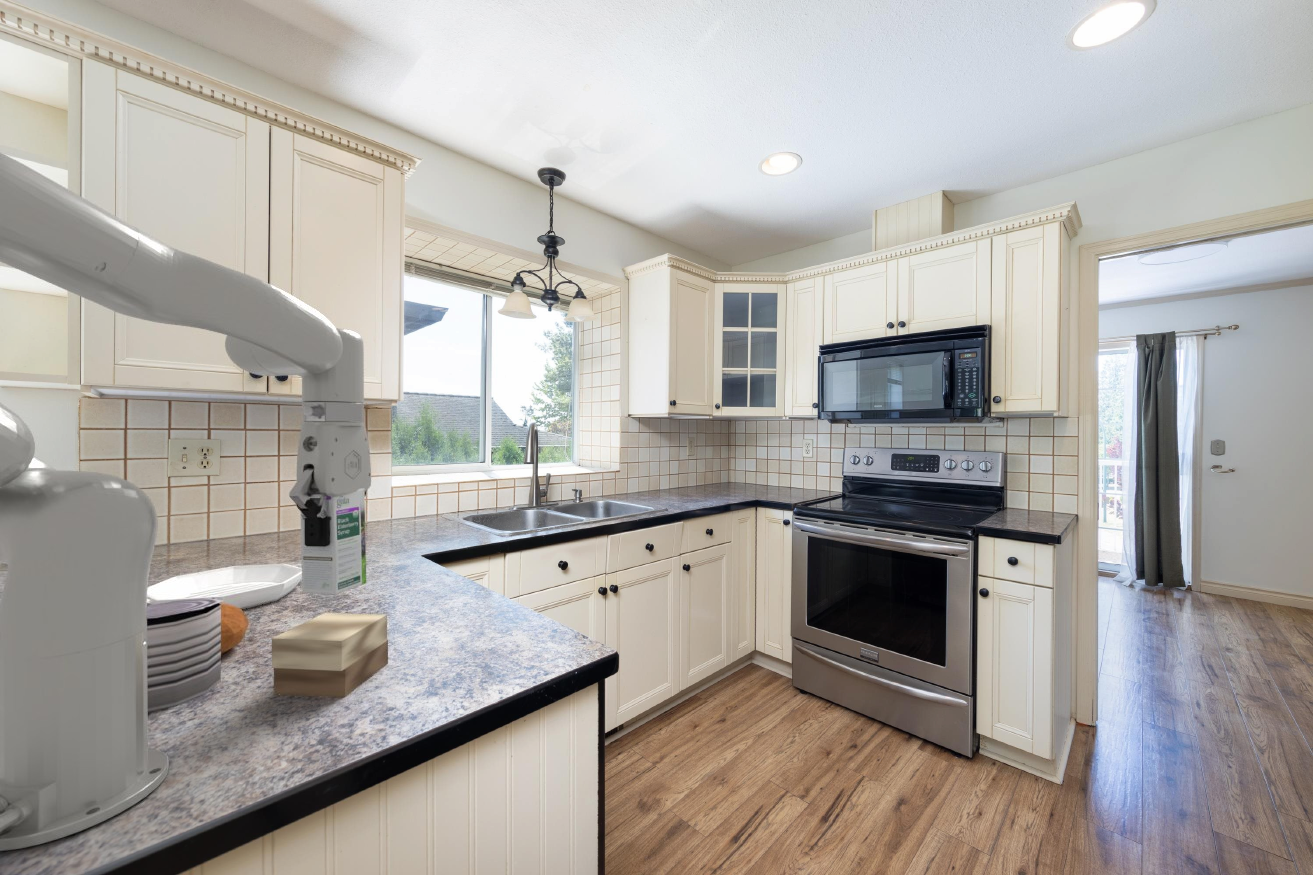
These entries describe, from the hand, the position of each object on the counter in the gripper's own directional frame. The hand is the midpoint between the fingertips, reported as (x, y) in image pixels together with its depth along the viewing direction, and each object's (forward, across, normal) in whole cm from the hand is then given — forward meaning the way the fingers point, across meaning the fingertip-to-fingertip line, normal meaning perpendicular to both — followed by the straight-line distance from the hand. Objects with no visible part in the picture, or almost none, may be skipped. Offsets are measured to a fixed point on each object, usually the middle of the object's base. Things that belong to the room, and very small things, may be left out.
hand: (334, 539), depth 74 cm
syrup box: (+7, 0, 0) cm, 7 cm away
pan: (+21, +33, +46) cm, 60 cm away
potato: (+20, +7, +25) cm, 33 cm away
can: (+20, -5, +20) cm, 29 cm away
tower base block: (+21, 0, 0) cm, 21 cm away
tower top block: (+16, 0, 0) cm, 16 cm away
